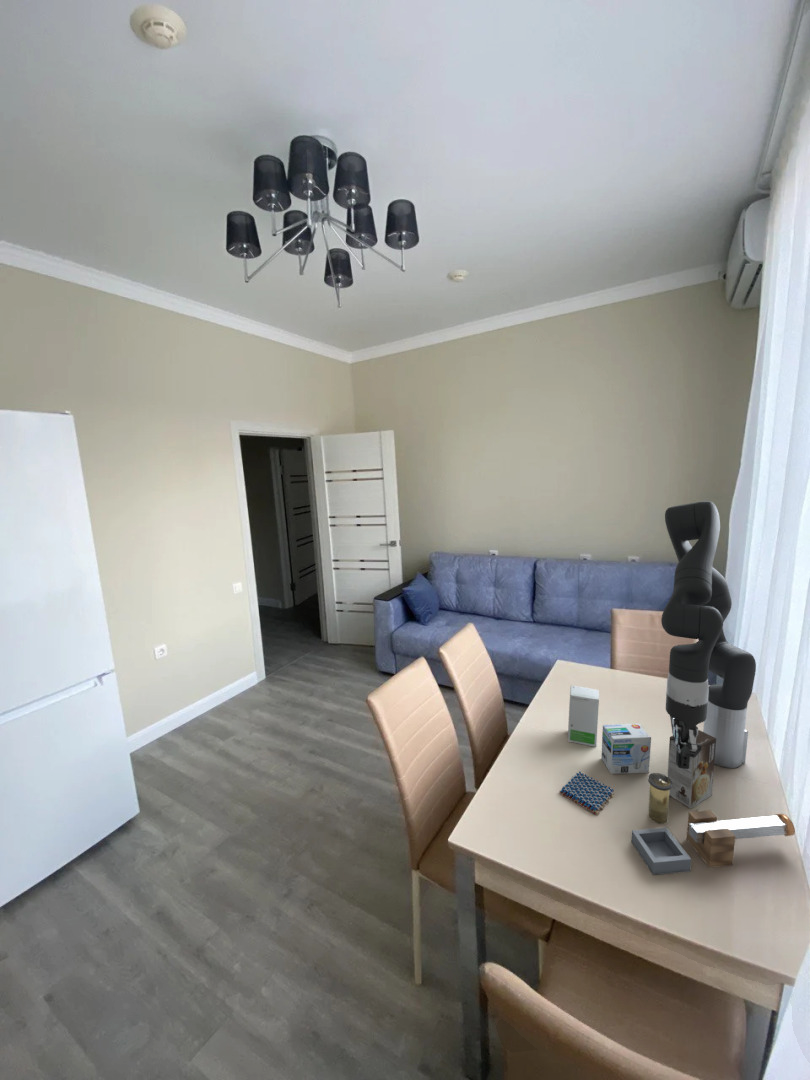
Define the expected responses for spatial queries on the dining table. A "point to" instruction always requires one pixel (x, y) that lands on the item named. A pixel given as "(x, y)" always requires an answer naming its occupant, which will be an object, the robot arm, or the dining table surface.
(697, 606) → the robot arm
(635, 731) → the light bulb box
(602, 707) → the dining table surface
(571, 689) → the skincare box
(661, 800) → the yellow glass jar
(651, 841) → the box
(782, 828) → the pin
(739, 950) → the dining table surface
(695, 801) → the coffee box
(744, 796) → the dining table surface
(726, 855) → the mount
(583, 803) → the woven mat
